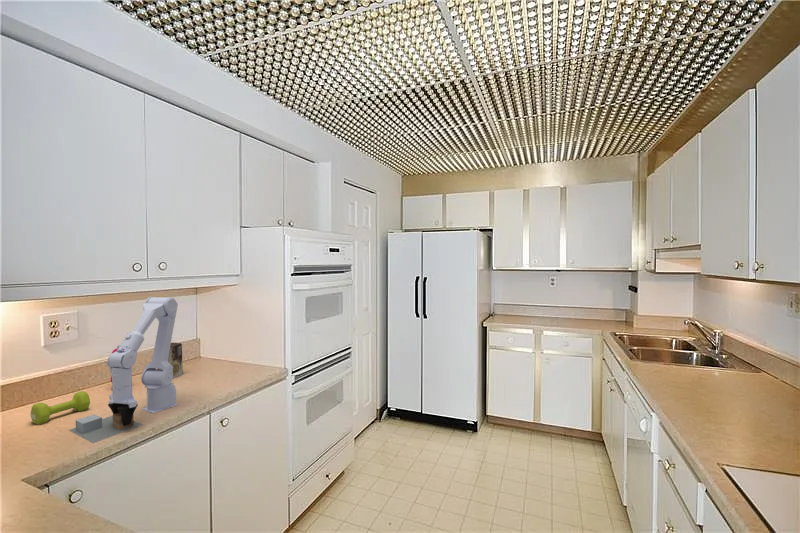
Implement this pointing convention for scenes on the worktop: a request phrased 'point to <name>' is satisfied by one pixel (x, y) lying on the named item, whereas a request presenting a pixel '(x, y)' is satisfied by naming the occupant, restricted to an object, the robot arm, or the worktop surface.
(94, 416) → the base block
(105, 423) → the mat
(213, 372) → the worktop surface
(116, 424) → the walnut block
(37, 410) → the dumbbell
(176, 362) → the coffee box
